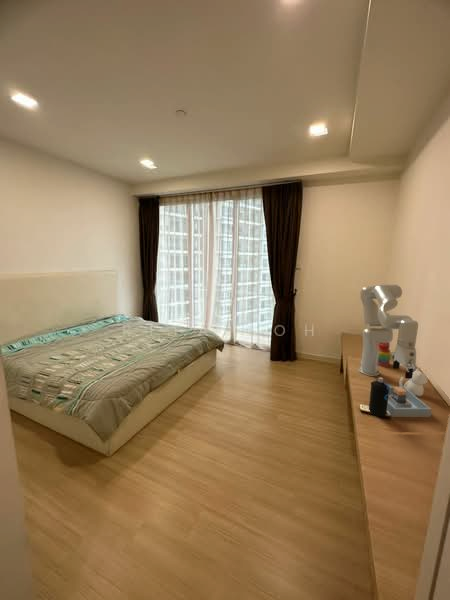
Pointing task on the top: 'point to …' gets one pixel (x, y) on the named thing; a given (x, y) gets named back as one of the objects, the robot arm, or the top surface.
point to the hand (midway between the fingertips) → (401, 373)
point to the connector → (399, 395)
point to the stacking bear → (384, 354)
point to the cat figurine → (415, 383)
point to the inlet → (399, 405)
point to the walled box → (416, 411)
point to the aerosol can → (379, 397)
